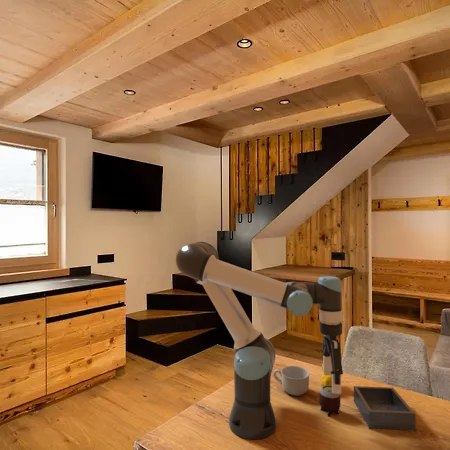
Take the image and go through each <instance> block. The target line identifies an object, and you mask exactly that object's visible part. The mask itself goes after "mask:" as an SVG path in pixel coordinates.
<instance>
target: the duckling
mask: <svg viewBox="0 0 450 450" xmlns="http://www.w3.org/2000/svg"><path fill="white" fill-rule="evenodd" d="M321 370H322V372H323V373H322V375H321V378H320V382H321V386H322V387H323V386H332V375H324V361H323V362H322V365H321ZM332 371H333V370H332Z"/></svg>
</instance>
